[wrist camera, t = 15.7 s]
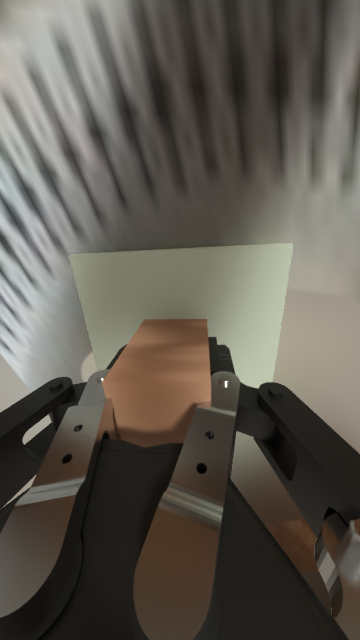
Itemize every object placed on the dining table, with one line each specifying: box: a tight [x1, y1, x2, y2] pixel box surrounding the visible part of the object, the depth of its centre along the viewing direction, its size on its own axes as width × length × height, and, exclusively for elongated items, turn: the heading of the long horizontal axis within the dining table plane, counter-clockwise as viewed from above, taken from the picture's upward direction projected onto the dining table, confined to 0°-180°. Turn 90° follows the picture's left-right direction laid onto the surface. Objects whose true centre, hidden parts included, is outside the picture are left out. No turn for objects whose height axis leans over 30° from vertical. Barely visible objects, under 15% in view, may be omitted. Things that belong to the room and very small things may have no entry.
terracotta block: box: [102, 319, 211, 447], centre depth 11 cm, size 4×4×6 cm
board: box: [68, 243, 294, 389], centre depth 15 cm, size 14×12×1 cm
